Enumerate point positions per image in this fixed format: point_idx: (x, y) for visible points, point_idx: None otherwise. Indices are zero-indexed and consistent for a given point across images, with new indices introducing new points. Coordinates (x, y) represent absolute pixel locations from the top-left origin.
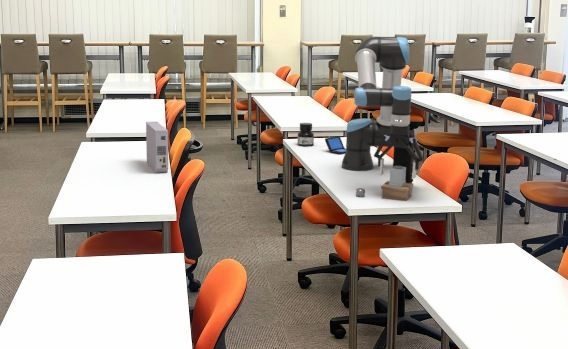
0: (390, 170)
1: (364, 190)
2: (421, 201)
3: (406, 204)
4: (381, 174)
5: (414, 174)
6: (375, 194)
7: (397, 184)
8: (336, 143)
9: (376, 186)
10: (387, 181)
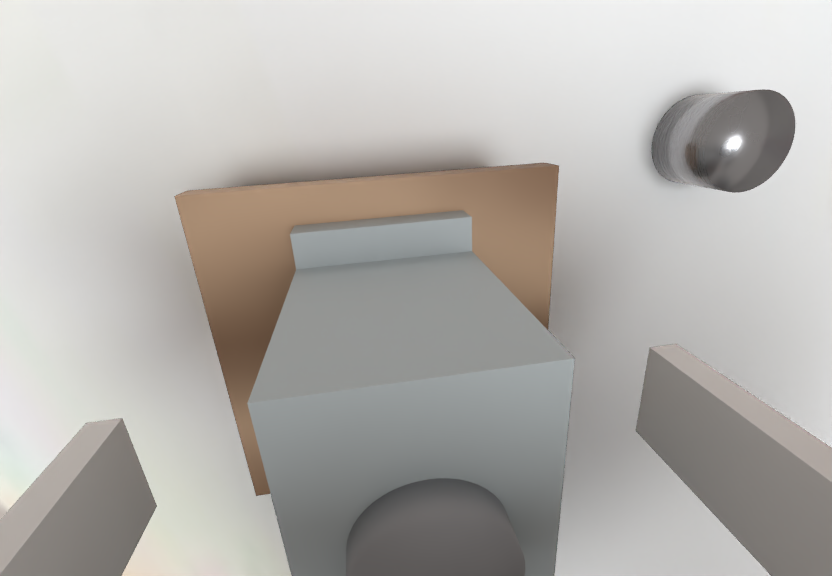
0: (551, 346)
1: (704, 135)
2: (89, 239)
3: (155, 8)
4: (659, 353)
5: (39, 478)
6: (573, 275)
7: (355, 258)
8: None
9: (605, 492)
10: None
